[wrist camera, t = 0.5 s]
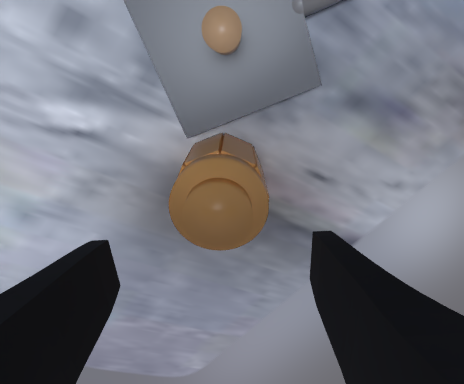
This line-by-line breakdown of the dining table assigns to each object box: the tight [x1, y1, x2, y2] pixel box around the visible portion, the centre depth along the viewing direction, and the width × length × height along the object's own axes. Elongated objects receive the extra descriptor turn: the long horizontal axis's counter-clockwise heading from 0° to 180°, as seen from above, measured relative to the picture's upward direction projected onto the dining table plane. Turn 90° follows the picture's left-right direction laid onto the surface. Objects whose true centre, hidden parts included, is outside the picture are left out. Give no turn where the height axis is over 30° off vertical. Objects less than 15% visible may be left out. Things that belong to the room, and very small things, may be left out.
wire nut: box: [169, 133, 269, 250], centre depth 16 cm, size 5×5×6 cm
